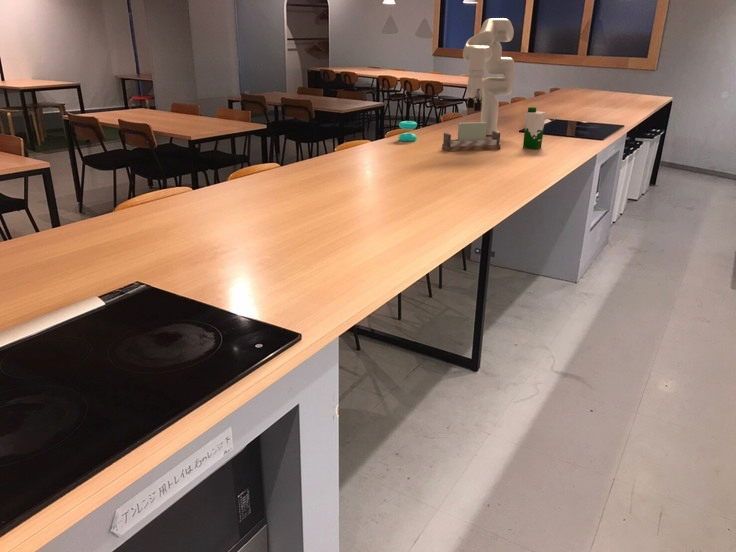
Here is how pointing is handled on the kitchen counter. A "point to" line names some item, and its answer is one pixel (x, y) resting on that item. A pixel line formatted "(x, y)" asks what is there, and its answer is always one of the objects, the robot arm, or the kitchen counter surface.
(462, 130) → the door panel
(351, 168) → the kitchen counter surface
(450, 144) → the track base
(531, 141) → the milk carton
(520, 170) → the kitchen counter surface
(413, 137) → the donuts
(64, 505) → the kitchen counter surface
